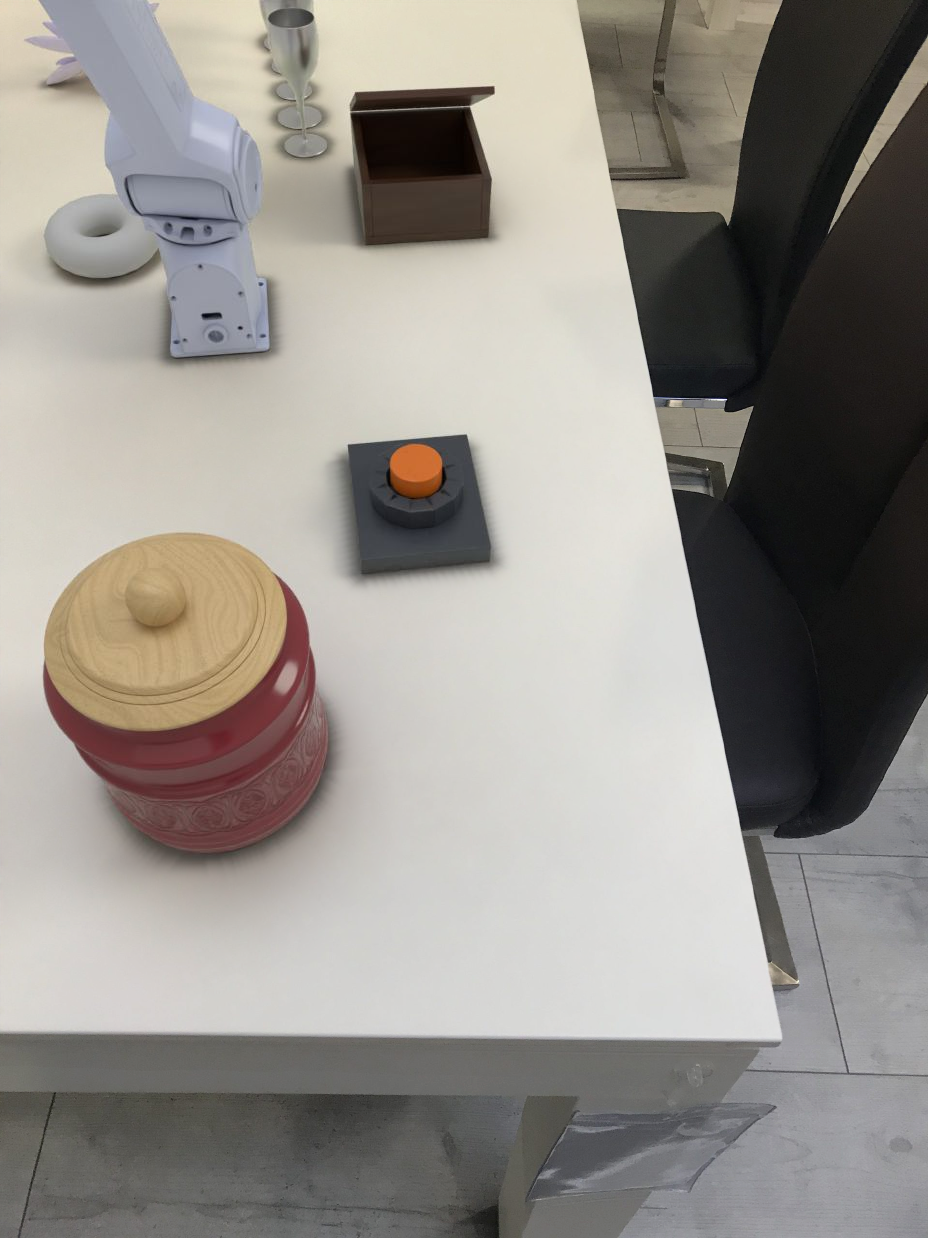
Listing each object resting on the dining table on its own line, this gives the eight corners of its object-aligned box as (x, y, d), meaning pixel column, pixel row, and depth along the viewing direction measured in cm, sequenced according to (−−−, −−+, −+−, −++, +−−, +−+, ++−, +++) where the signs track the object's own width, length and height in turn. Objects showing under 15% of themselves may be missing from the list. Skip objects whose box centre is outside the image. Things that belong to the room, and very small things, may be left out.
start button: (445, 496, 63) (445, 479, 62) (393, 501, 63) (392, 483, 61) (438, 458, 65) (438, 441, 64) (388, 463, 65) (387, 445, 63)
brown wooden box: (488, 237, 86) (491, 177, 81) (365, 244, 85) (361, 185, 80) (468, 164, 93) (470, 106, 88) (354, 170, 92) (349, 111, 87)
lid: (494, 93, 76) (494, 85, 76) (355, 100, 75) (354, 91, 74) (470, 105, 88) (470, 98, 88) (349, 111, 87) (349, 104, 86)
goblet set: (336, 155, 93) (324, 10, 82) (279, 160, 92) (259, 14, 81) (306, 29, 108) (292, -107, 97) (257, 32, 108) (237, -105, 97)
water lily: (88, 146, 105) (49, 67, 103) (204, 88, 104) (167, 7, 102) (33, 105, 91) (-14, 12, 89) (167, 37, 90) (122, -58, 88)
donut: (147, 292, 80) (178, 224, 85) (136, 257, 77) (169, 189, 83) (35, 282, 80) (73, 215, 86) (20, 247, 77) (60, 180, 83)
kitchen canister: (125, 669, 58) (23, 479, 44) (329, 656, 59) (296, 465, 45) (98, 868, 51) (-34, 719, 36) (332, 850, 52) (293, 697, 37)
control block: (490, 562, 64) (492, 530, 61) (361, 575, 63) (358, 543, 60) (466, 449, 70) (467, 415, 67) (349, 460, 69) (345, 426, 66)
